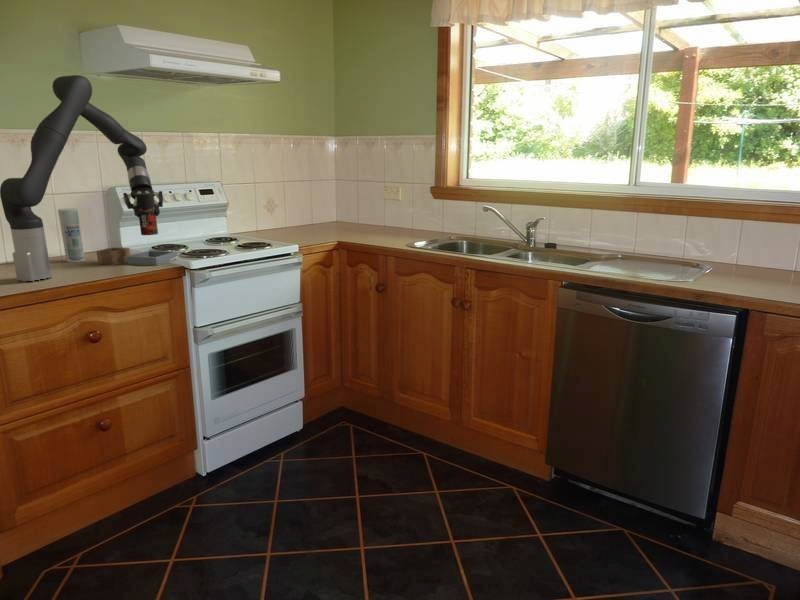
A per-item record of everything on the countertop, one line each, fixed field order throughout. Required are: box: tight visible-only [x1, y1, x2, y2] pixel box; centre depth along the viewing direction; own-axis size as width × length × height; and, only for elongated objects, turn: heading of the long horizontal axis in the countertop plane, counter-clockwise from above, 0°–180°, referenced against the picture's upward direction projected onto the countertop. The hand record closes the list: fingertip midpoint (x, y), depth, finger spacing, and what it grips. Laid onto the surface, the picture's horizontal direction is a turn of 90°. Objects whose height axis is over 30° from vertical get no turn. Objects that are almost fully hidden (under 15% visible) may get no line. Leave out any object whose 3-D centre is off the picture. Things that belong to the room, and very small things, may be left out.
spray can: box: [57, 207, 86, 263], centre depth 226 cm, size 6×6×20 cm
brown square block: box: [96, 246, 131, 266], centre depth 223 cm, size 8×8×5 cm
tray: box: [126, 250, 178, 267], centre depth 224 cm, size 13×13×3 cm
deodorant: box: [136, 193, 159, 236], centre depth 219 cm, size 6×6×15 cm
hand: (147, 215), depth 218 cm, fingers closed on deodorant, 6 cm apart
